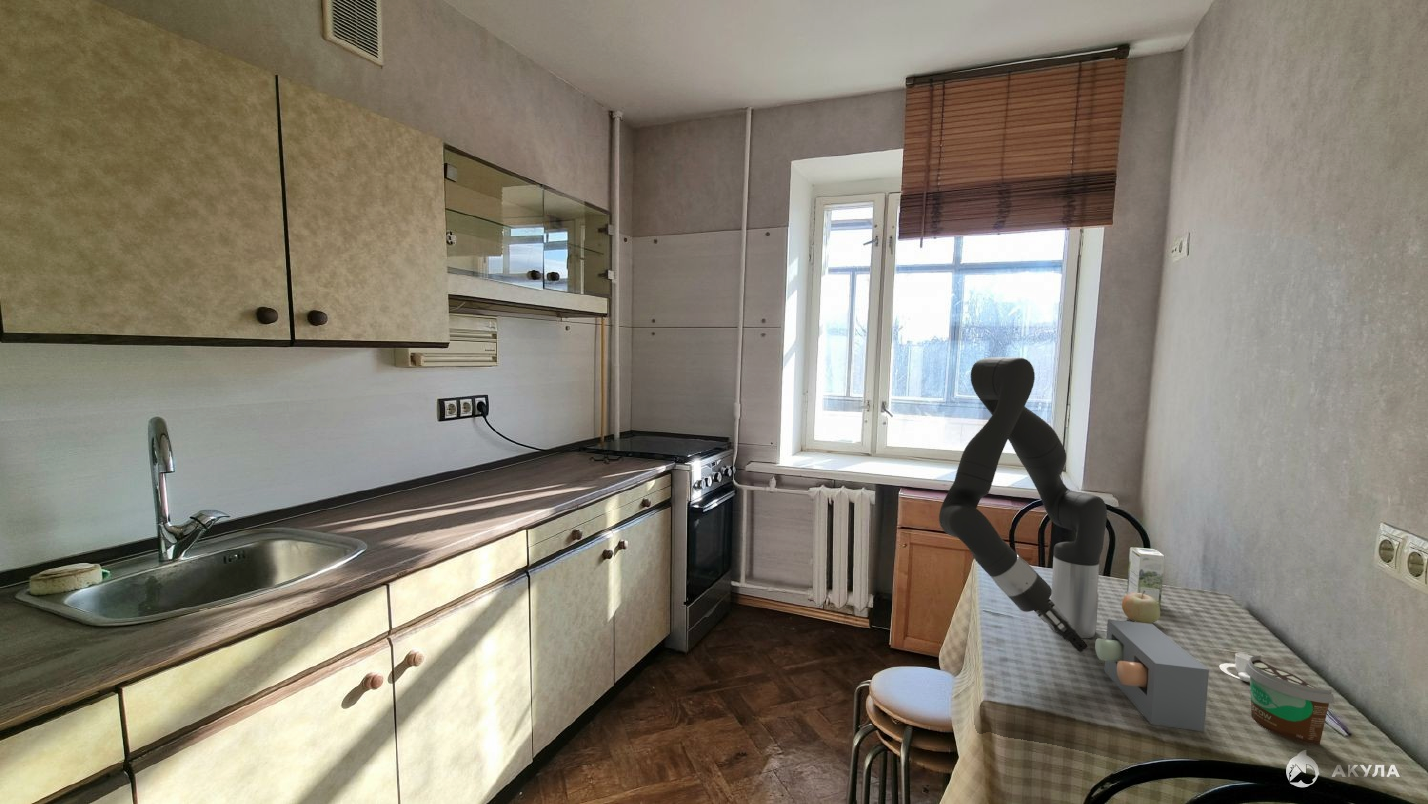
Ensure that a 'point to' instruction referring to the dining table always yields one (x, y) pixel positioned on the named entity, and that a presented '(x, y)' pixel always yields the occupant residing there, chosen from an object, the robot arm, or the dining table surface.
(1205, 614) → the dining table surface
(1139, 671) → the terracotta button
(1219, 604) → the dining table surface
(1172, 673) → the block
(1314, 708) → the food container
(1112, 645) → the sage button
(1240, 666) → the teacup and saucer
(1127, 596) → the fruit
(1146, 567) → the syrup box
